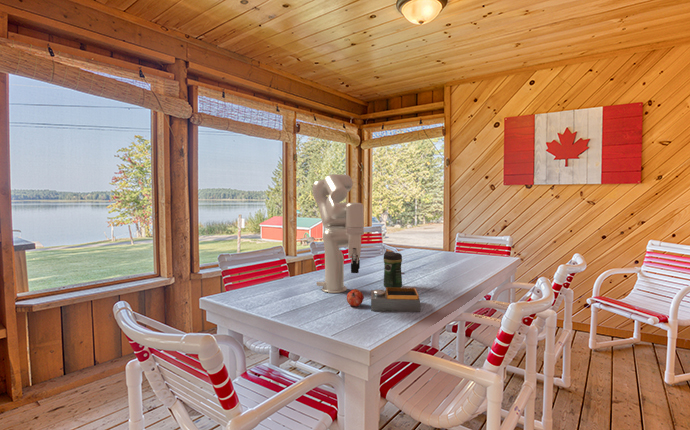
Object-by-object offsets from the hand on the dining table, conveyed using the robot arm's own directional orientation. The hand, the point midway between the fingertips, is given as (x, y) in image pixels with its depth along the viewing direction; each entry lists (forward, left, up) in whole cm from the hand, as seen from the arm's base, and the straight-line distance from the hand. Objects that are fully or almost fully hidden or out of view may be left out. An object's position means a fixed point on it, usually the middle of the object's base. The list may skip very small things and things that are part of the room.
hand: (355, 270), depth 150 cm
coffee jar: (+18, +33, -16) cm, 41 cm away
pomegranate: (0, 0, -16) cm, 16 cm away
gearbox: (+17, 0, -15) cm, 23 cm away
